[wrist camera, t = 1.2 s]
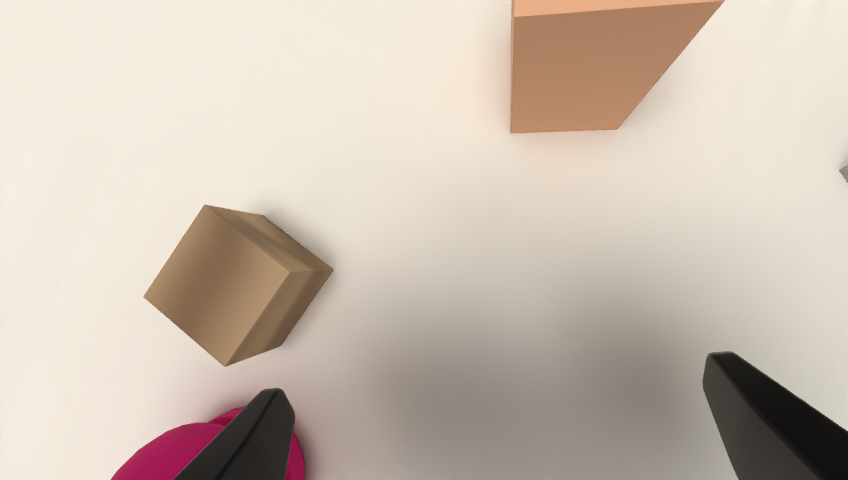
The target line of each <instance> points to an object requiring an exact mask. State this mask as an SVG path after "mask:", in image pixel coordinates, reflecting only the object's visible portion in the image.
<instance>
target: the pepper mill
mask: <svg viewBox="0 0 848 480" xmlns="http://www.w3.org/2000/svg"><path fill="white" fill-rule="evenodd" d="M243 409H244V408H238V409H234V410H231V411H228V412H226V413H224V414H222V415H220V416H218V417H216V418H215V419H213V420H211V421H209V422H207V423H192V424H187V425H182V426H180V427H177V428H174V429H172V430H169V431H167V432H165V433H164V434H162V435H161V436H159V437H157V438H156V439H154V440H153V441H151V442H150V443H148V444H147V445H145V446H144V447H142V448H141V449H139V450H138V451H137V452H136V453H135V454H134V455H133V456H132V457H131V458H130V459H129V460H128V461H127V462H126V463H125V464H124V465H123V466H122V467H121V468H120V469H119V470H118V471H117V472H116V473H115V475H114V476H113V477H112V479H111V480H173V479H174V478H175V477H176V476H177V475H178V474H179V473H180V472H181V471H182V470H183V469H184V468H185V467H186V466H187V465H188V464H189V463H190V462H191V461H192V460H193V459H194V458H195V457H196V456H197V455H198V454H199V453H200V452H201V451H202V450H203V449H204V448H205V447H206V446H207V445H208V444H209V443H210V442H211V441H212V440H213V439H214V438H215V437H216V436H217V435H218V434H219V433H220V432H221V431H222V430H223V429H224V428H225V427H226V426H227V425H228V424H229V423H230V422H231V421H232V420H233V419H234V418H235V417H236V416H237V415H238V414H239V413H240V412H241V411H242V410H243ZM304 477H305V469H304V459H303V453H302V451H301V448H300V446H299V443H298V441H297V438H296V437H295V436H294V434H292V440H291V446H290V452H289V458H288V464H287V470H286V476H285V480H304Z"/></svg>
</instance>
